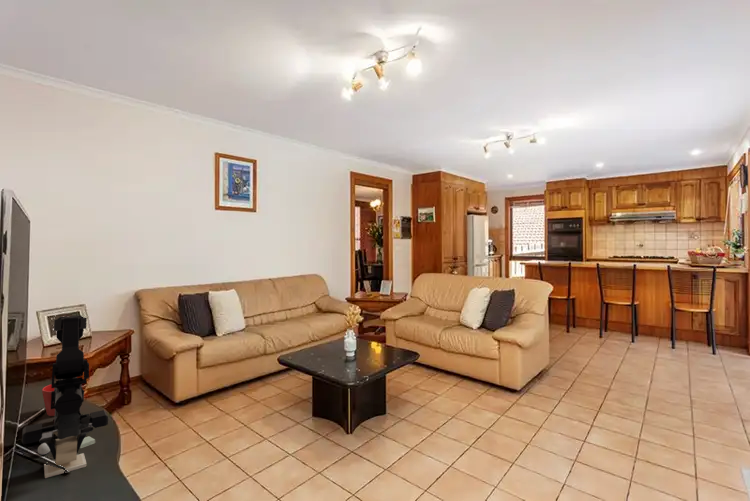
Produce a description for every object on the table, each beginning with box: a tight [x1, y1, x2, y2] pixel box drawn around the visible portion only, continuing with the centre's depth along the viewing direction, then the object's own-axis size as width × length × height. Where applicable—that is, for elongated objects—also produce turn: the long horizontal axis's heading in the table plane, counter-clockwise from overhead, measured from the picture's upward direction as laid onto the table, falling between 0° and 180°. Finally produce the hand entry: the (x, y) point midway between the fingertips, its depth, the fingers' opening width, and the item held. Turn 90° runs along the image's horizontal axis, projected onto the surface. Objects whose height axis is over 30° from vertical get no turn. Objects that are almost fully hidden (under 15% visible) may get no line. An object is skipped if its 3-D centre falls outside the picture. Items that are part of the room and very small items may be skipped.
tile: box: [80, 435, 96, 449], centre depth 121 cm, size 4×4×2 cm
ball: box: [37, 442, 51, 455], centre depth 114 cm, size 3×3×3 cm
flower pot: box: [41, 383, 55, 417], centre depth 141 cm, size 11×11×10 cm
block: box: [54, 436, 78, 465], centre depth 108 cm, size 4×4×6 cm
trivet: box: [43, 452, 87, 479], centre depth 108 cm, size 7×9×1 cm
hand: (65, 455), depth 108 cm, fingers closed on block, 4 cm apart
